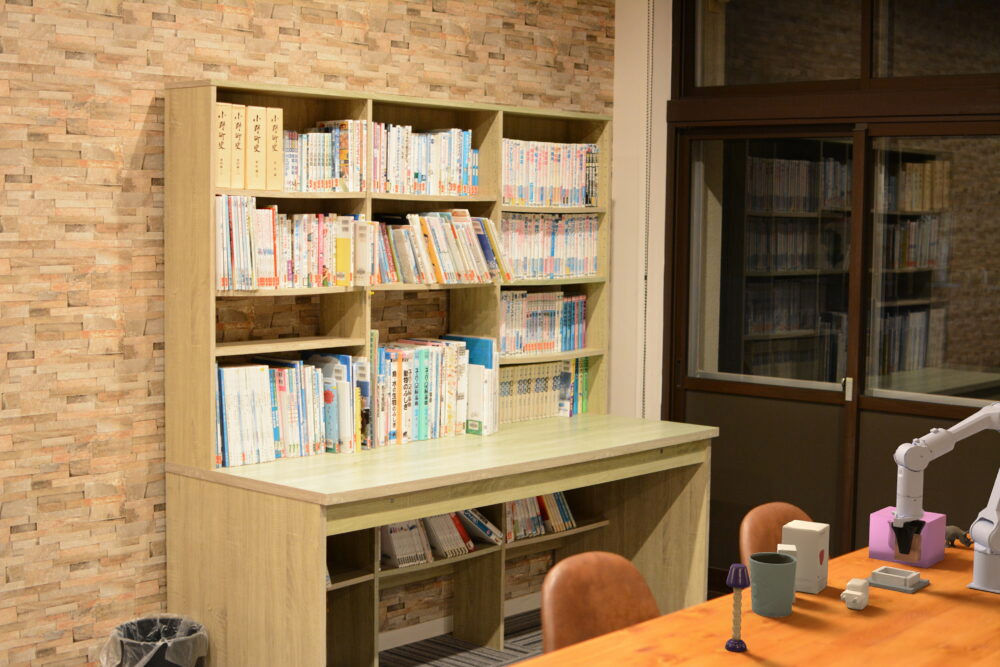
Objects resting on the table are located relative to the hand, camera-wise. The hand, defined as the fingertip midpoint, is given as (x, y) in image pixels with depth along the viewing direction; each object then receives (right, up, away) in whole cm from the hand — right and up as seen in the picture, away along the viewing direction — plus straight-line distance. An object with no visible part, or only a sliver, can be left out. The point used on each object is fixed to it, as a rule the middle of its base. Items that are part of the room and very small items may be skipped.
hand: (907, 552), depth 278 cm
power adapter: (-18, -10, -17) cm, 26 cm away
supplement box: (-24, -9, 0) cm, 26 cm away
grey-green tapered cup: (-37, -10, -19) cm, 42 cm away
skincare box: (-31, -9, -10) cm, 34 cm away
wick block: (0, -2, 0) cm, 2 cm away
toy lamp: (-49, -11, -44) cm, 67 cm away
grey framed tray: (-1, -8, +5) cm, 10 cm away
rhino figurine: (+26, -7, +42) cm, 50 cm away
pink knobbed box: (+9, -7, +28) cm, 31 cm away
